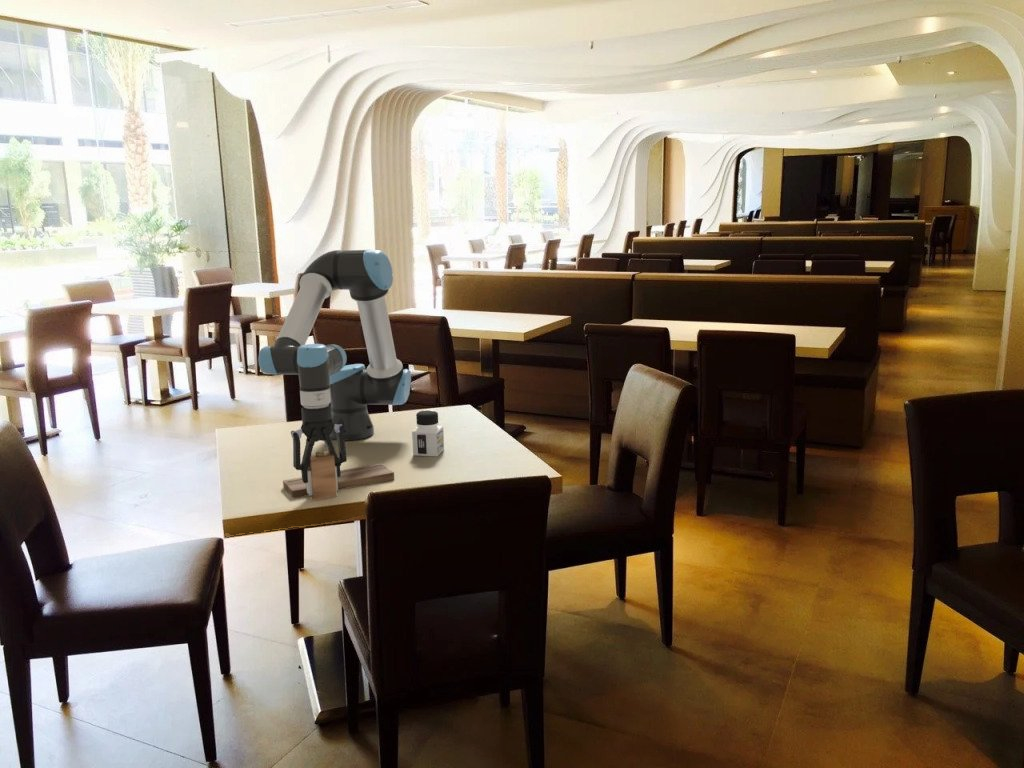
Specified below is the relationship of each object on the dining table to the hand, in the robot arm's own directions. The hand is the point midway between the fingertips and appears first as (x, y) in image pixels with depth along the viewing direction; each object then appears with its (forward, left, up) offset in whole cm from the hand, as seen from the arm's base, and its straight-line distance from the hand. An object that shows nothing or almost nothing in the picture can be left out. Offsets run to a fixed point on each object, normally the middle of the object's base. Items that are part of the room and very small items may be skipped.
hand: (322, 491), depth 214 cm
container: (-21, +39, -2) cm, 45 cm away
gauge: (-5, 0, -1) cm, 5 cm away
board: (-8, +7, -1) cm, 11 cm away
